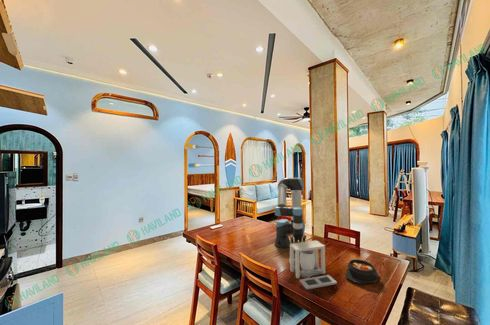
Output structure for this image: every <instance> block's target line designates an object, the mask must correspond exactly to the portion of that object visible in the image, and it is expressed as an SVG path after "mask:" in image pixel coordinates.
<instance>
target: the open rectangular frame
mask: <svg viewBox="0 0 490 325" xmlns="http://www.w3.org/2000/svg"><path fill="white" fill-rule="evenodd" d="M294 250H295V254H294ZM307 250H314V251H315V254H314V256H315V265H317V266H318V267H319V266H320V267H319V268H320V269H323V274H322V275H321V276H320V275H319V276H316V277H309V278H303V279H300V277H301V276H300V271H301V270H300V268H301V265H300V262H299V252H300V251H307ZM319 250H320V265H319ZM294 259H295V263H294ZM289 260H290V263H289V268H290V269H289V271H290V272H292V273H293V272H294V273H295V278H296V279H299V282H300V283H302V284H301V285H302V286H303V287H304V289H306V290H312V289H316V288H323V287H328V286H332V285H337V284H338V282H337V280H335V279H334V278H333V277H332V276H331V275H329V274H326V245H325V244H323V243H321V241H318V240H309V241H305V242H300V243H292V244H290V247H289ZM294 265H295V269H294Z"/></svg>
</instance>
